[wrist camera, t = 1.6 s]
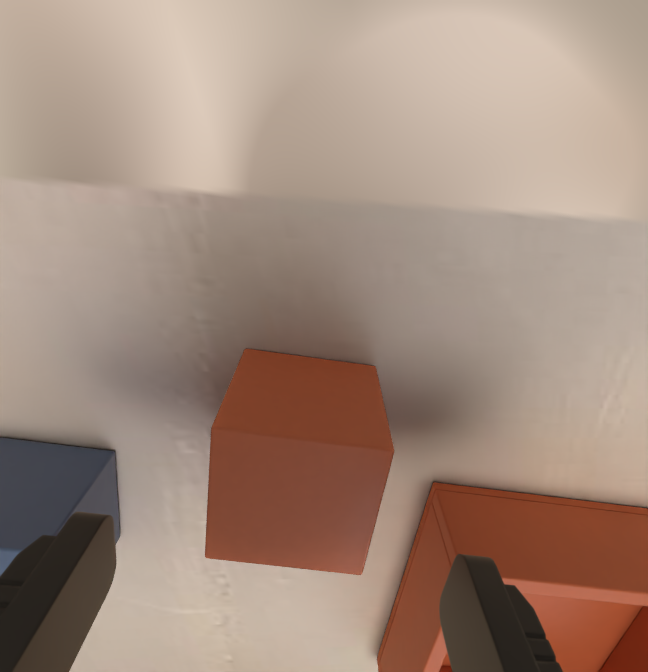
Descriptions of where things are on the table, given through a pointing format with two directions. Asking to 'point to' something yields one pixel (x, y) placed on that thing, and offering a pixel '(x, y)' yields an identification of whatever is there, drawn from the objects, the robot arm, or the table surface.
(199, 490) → the table surface
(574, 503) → the terracotta bin
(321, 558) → the terracotta block
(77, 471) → the blue block
